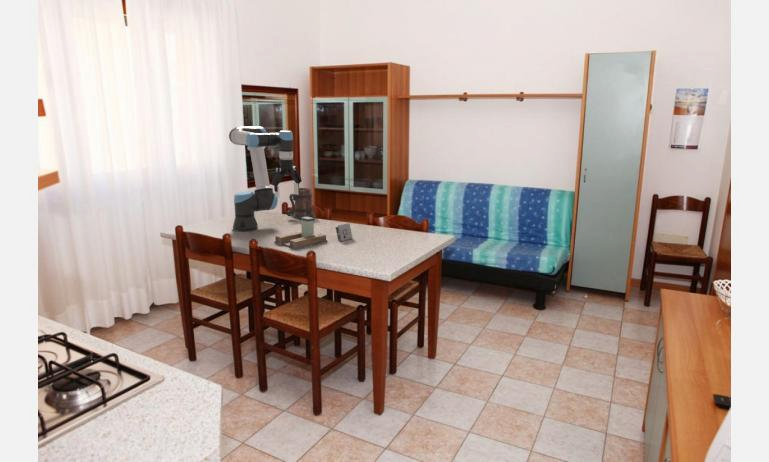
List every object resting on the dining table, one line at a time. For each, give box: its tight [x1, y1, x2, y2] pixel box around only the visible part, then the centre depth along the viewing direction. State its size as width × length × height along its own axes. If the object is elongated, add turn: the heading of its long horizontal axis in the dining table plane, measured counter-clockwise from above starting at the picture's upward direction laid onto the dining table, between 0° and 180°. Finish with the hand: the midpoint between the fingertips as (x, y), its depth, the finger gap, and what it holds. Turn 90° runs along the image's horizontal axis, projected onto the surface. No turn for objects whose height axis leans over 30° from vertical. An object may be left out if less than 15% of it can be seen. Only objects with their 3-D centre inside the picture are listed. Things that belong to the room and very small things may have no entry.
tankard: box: [286, 187, 316, 220], centre depth 343 cm, size 24×17×20 cm
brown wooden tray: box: [274, 230, 328, 250], centre depth 280 cm, size 20×22×4 cm
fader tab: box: [300, 217, 315, 237], centre depth 282 cm, size 6×4×12 cm
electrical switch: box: [335, 222, 353, 242], centre depth 288 cm, size 9×5×9 cm, turn 141°
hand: (287, 195), depth 284 cm, fingers open, 13 cm apart
